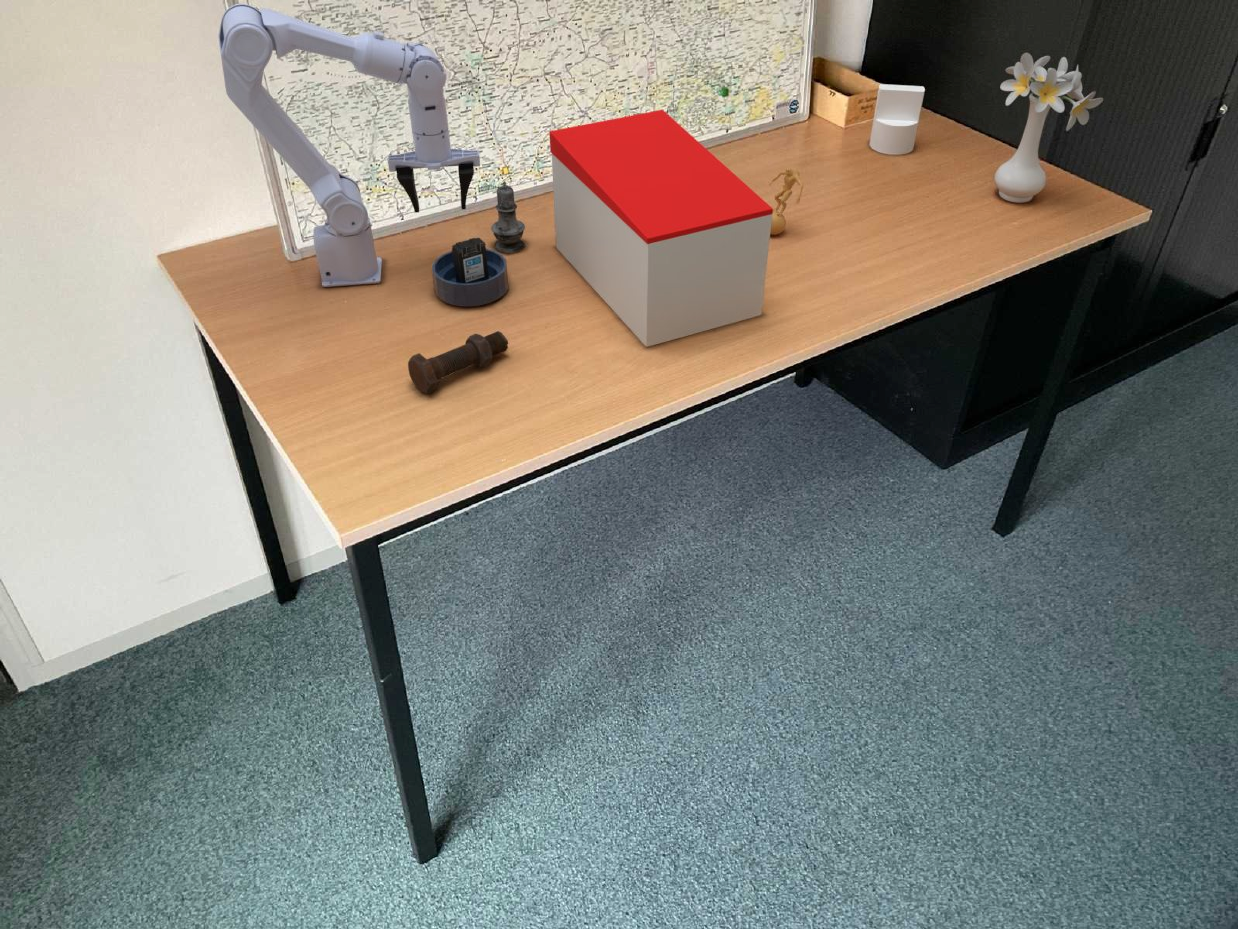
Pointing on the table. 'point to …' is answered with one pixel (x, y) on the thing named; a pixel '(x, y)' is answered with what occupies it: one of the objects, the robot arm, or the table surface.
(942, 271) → the table surface
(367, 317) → the table surface
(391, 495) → the table surface
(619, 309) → the red-topped grey box
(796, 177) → the figurine
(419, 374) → the bolt
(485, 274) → the ink cartridge
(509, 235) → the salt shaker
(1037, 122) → the flower vase
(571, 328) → the table surface
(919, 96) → the base with upright slab
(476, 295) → the bowl
